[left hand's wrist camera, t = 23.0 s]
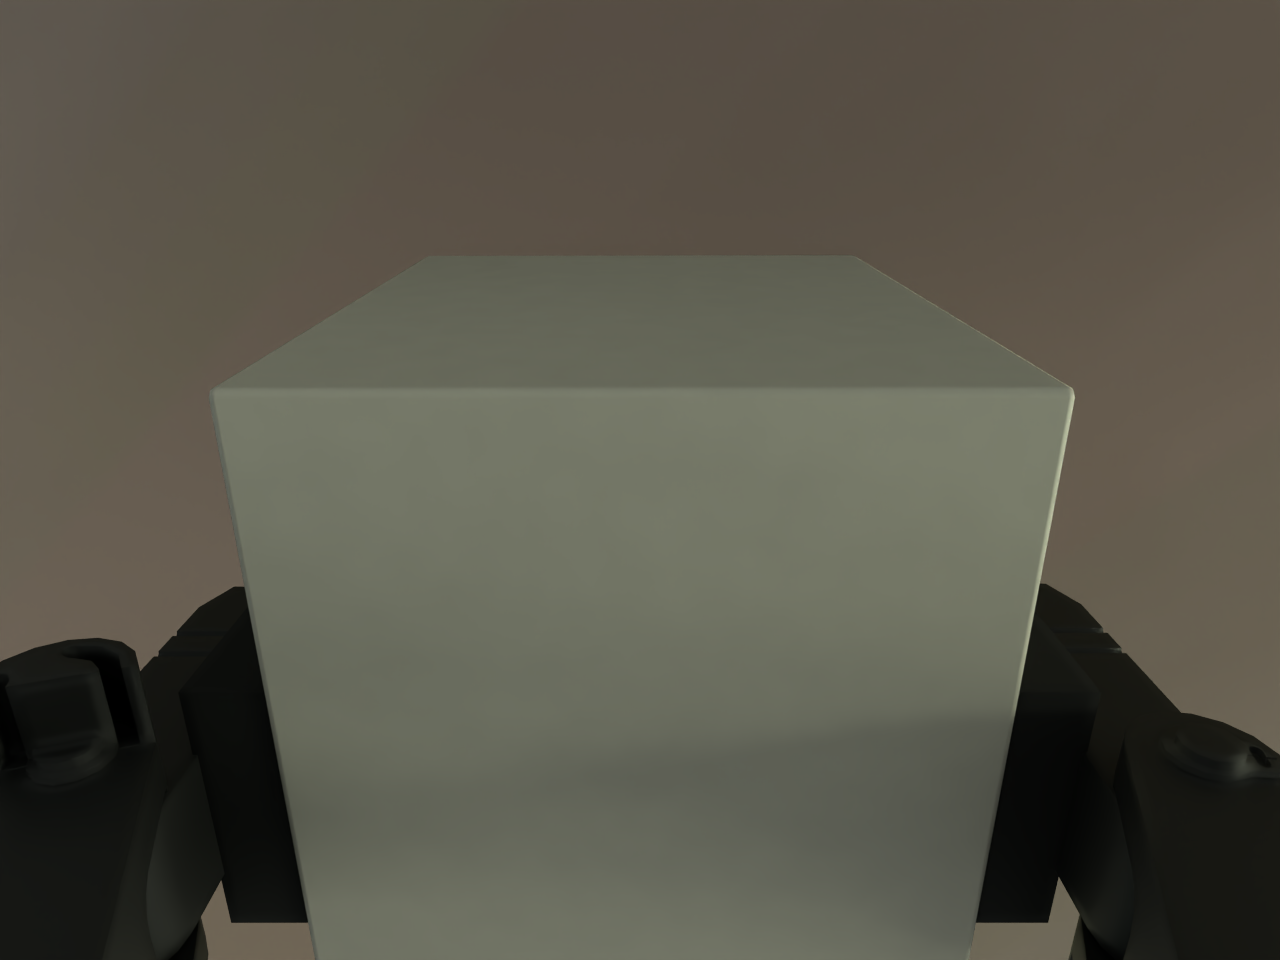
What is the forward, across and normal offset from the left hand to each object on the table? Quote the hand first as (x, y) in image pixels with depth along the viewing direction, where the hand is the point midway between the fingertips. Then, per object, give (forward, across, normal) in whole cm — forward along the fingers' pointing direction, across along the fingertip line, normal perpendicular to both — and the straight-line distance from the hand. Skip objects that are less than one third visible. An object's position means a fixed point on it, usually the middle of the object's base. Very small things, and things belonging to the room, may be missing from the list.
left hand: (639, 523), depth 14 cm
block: (+1, 0, 0) cm, 1 cm away
